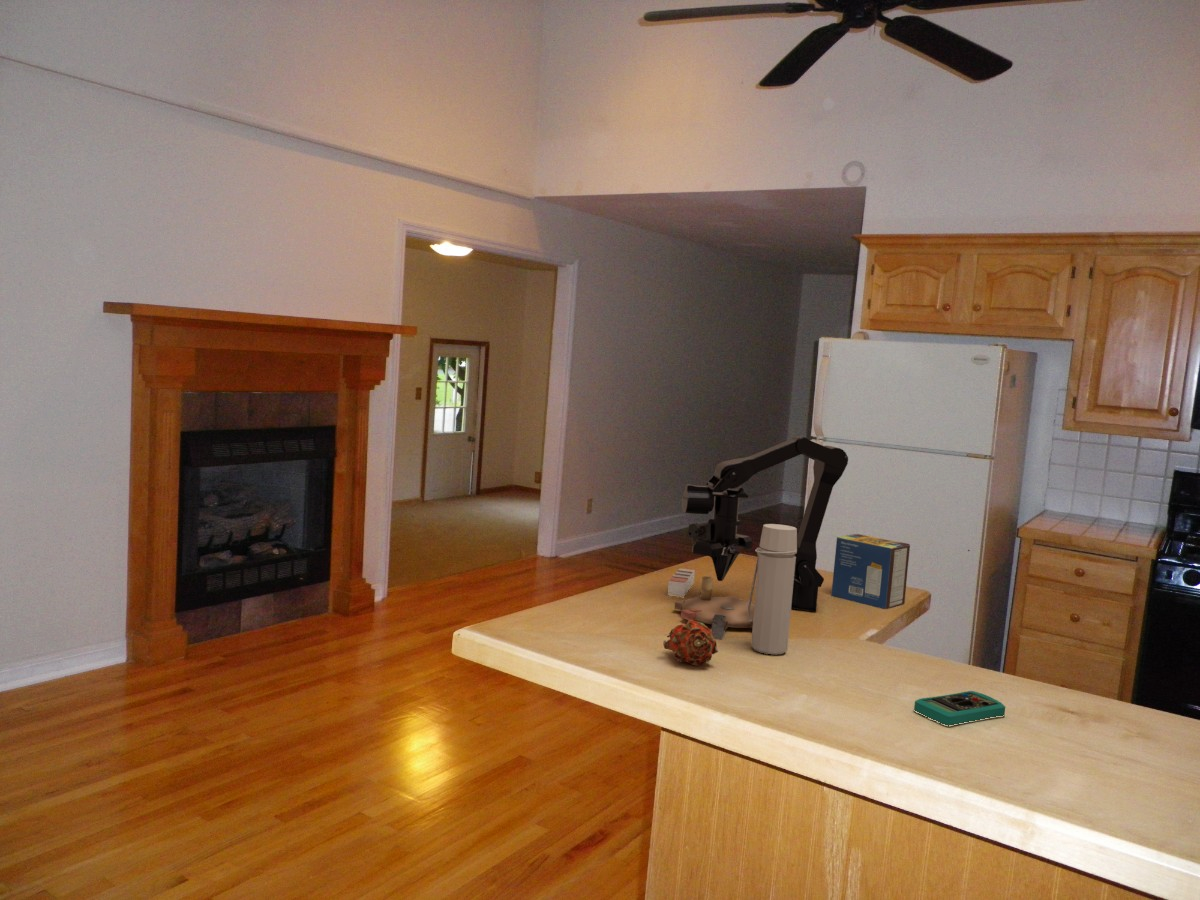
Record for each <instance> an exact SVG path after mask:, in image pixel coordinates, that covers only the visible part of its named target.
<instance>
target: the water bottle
mask: <svg viewBox="0 0 1200 900" xmlns="http://www.w3.org/2000/svg"><path fill="white" fill-rule="evenodd" d="M797 531H798V528H796V527H795V526H791V525H785V524H778V523H777V524H776V523H765V524H763V527H762V529H761V535H760V542H759V547H756V549H755V552H756V554H757V555H756V556H757V558H756V563H755V569H754V574H753V580H752V584H751V589H750V594H749V599H748V601H749V604H748V621H751V622H752V621H753V629H752V628H751V629H752V630H751V631H752V632H751V639H750V640H751V641H750V643H751V644H750V645H751V647H752V648H753V650H754V651H756V652H758V653H760V654H763V653H764V655H768V654H771V656H778V654H779V655H782V654H785V652H787V650H788V647H789V646H788V645H789V635H790V623H791V614H792V613H791V612H792V609H791V604H792V594H793V583H794V572H795V561H796V557H795V556H794V554H796V553H797V535H798V532H797ZM754 589H755V595H754ZM753 596H754V597H755V598H754V603H755V606H754V618H753V620H751V617H750V607H751V602H753V601H752V600H753Z"/></svg>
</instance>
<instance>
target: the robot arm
mask: <svg viewBox="0 0 1200 900" xmlns="http://www.w3.org/2000/svg"><path fill="white" fill-rule="evenodd" d="M800 455H802V456H804V457H806V458H809V459H810V460H813V467H812V468H813V471H812V472H813V483H812V487H811V489H810V493H809V496H808V499H807V503H806V506H805V510H804V513H803V516H802V520H801V522H800V526H799V529H798V532H797V553H796V554H794V556H795V557H796V561H795V572H794V583H793V594H792V604H791V610H798V611H806V612H812V613H813V612H814V613H816V612H817V611H818V595H819V594H818V593H819V588H821V587H822V585H823V583H824V582H825V578H824V577H823V576H822V575H821V574H820V572H819V571H818V570H817V569H816V568H817V567H816V565H817V558H818V555H817V554H818V552H817V540H818V537H819V534H820V531H821V527H822V524H823V520H824V517H825V514H826V511H827V508H828V505H829V501H830V498H831V495H832V491H833V489H834V486H835V485H836V484H837V482H838V481H839V480H840V479H841V477H843V475H844V472H845V470H846V469H847V466H848V462H849V456H848V455H847V452H845V450H844V449H842V448H840V447H835V446H831V445H822V444H819V443H817V442H815V441H812V440H811V439H809V438H807V436H806V437H804V436H800V435H795V436H793V437H791V438H790V439H788V440H786V441H784V442H780V443H779V444H776V445H773V446H772V447H771V446H770V447H769V448H767V449H764V450H761V451H759V452H757V453H754V454H752V455H750V456H745V457H742V458H734V459H729V460H725V461H721V462H719V463H718V464H717V465H716V466H715V469H714V473H713V475H712V476H711V477H710V478H709V480H707V482H706V483H705V484H704V485H693V484H689V483H687V484H685V487H684V488H685V489H684V491H683V494H682V496H681V511H682V513H683V514H685V515H686V514H689V515H708V514H709V513H710V512H712V511H713V515H712V518H709V519H708V521H707V524H705V525H700V524H699V523H698V522H696V523H695V522H694V523H691V524H688V528H687V533H686V535H687V536H688V537H689V538H691V542H694V543H693V544H692V547H691V548H692V549H691V553H692V554H698V555H702V556H706V557H709V558H711V560H712V563H713V567H714V572H715V576H716V581H718V582H723V581H724V580H725V577H726V576H727V574H728V572H729V571H730V569H731V568H732V565H733V564H734V562H735V561H736V560H737V558H738V556H739V555H740V554H741V551H736V546H737V547H743V548H744V549H745V550H750V549H752V548H753V540H752V538H751V537H750V535H749V536H748V535H745V534H739V533H737V531H738V526H741V524H742V521H741V520H739V516H738V515H739V505H740V499H741V498H743V499H748V498H749V495H748V494H747V492H746V491H745V490H744V487H741V485H743V484H745V483H746V482H748V481H750V480H751V479H752V478H753V477H754V476H755V475H757V474H758V473H760V472H762V471H764V470H767V469H769V468H772V467H774V466H777V465H779V464H781V463H783V462H786V461H789V460H790V459H793V458H795V457H798V456H800Z"/></svg>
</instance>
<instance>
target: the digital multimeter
mask: <svg viewBox="0 0 1200 900" xmlns="http://www.w3.org/2000/svg"><path fill="white" fill-rule="evenodd" d="M914 710H915V711H917V712H919V713H921V714H923V715H925V716H927V717H929V718H931V719H933V720H936V721H938V722H940V723H942V724H945V725H948V726H949V725H954V724H959V723H964V722H969V721H975V720H980V719H985V718H990V717H996V716H1003V715H1004V716H1005V713H1006V706H1005V705H1004V704H1003V703H1002V702H1001V701H999V700H997V699H995V698H994V697H992V696H989V695H986V694H984V693H981V692H978V691H975V690H974V691H973V690H968V691H967V690H966V691H963V692H956V693H951V694H950V693H949V694H945V695H938V696H932V697H931V696H930V697H923V698H917V699H916V700H914V706H913V711H914Z"/></svg>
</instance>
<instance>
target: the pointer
mask: <svg viewBox="0 0 1200 900" xmlns="http://www.w3.org/2000/svg"><path fill="white" fill-rule="evenodd" d="M725 628H726V616H724V615H717V614H715V615H714V617H713V619H712V624H711V630H710V631H711V632H712V634H713V637H714V639H715V640H722V639H723V640H724V638H725V635H726V629H725Z"/></svg>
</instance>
